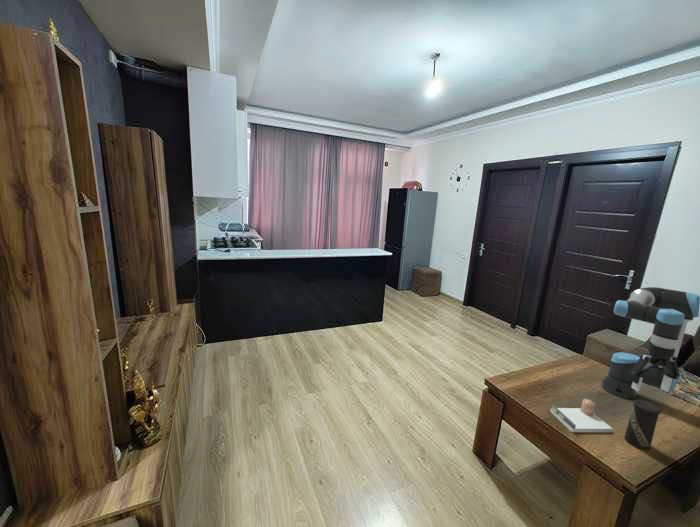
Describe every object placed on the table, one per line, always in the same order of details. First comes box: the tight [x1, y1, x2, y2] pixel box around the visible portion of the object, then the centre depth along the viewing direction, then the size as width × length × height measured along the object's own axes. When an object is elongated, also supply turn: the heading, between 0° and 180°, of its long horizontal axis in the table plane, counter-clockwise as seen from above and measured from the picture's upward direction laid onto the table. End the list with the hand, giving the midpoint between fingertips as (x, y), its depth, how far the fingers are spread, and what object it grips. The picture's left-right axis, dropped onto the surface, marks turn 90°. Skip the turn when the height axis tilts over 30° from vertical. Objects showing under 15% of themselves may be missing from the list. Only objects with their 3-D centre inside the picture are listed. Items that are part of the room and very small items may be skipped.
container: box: [624, 399, 662, 451], centre depth 127 cm, size 9×9×20 cm
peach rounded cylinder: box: [580, 398, 596, 416], centre depth 144 cm, size 5×5×6 cm
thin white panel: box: [549, 404, 614, 433], centre depth 140 cm, size 20×14×4 cm
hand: (649, 389), depth 124 cm, fingers open, 13 cm apart
